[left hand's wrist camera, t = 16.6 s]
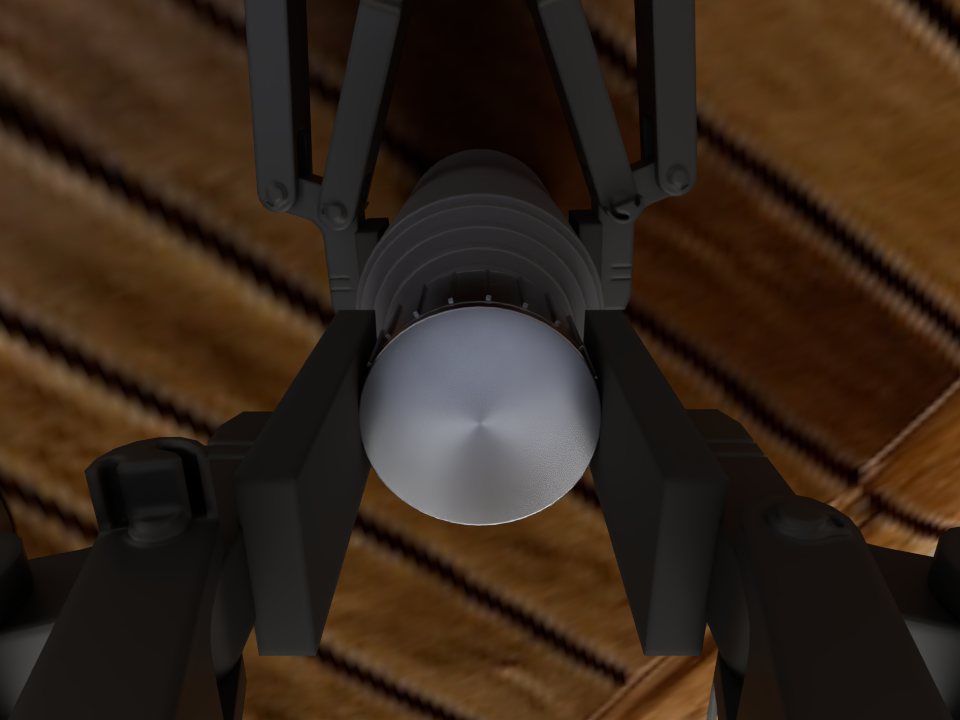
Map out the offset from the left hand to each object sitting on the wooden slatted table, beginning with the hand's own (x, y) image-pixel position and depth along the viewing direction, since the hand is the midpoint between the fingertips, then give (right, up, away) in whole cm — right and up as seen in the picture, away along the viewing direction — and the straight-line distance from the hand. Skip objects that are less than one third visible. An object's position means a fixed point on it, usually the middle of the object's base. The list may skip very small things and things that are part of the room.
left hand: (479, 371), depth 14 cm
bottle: (0, +6, +15) cm, 16 cm away
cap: (0, -1, -2) cm, 2 cm away
